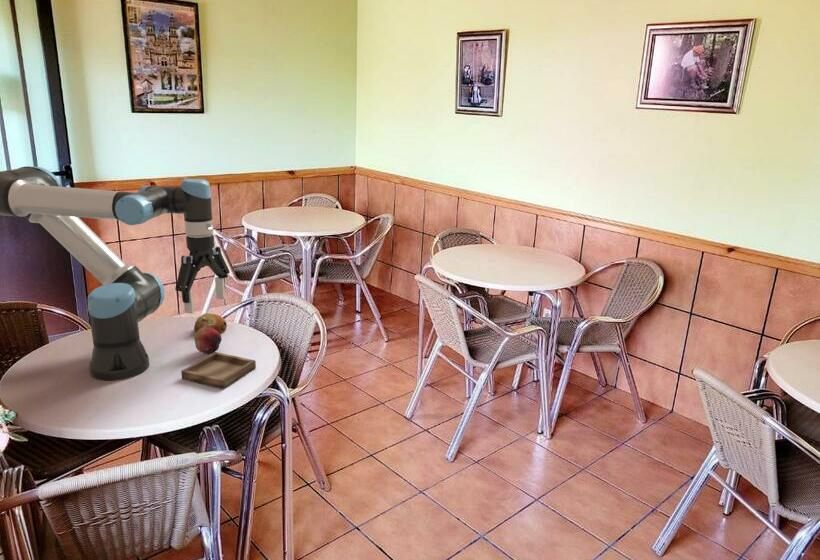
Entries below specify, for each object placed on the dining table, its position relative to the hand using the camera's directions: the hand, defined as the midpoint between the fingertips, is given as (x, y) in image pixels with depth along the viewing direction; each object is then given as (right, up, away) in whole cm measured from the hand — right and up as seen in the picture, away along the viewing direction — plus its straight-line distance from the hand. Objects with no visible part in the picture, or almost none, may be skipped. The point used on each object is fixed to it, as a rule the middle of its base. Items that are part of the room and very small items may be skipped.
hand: (205, 305), depth 176 cm
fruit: (-1, -15, +5) cm, 15 cm away
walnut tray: (+7, -19, -9) cm, 22 cm away
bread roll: (-5, -10, +21) cm, 24 cm away
